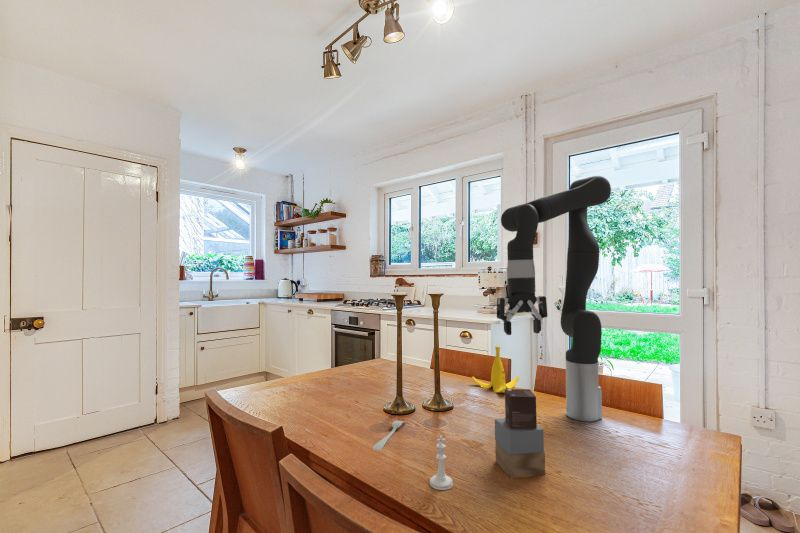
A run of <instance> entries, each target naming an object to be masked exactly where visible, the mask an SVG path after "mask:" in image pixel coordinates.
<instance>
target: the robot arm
mask: <svg viewBox="0 0 800 533" xmlns="http://www.w3.org/2000/svg"><path fill="white" fill-rule="evenodd" d="M611 193H612V187H611V183H610V181H609V180H608V179H607V177H605V176H602V175H593V176H589V177H584V178H579V179H576V180H574V181H573V182H571V184H570V186H569V188H568V189H567V190H562V191H558V192H555V193H550V194H547V195H545V196H542V197H539V198H536V199H534V200H532V201H530V202H525V203H522V204H518V205H515V206H511V207H508V208H507V209H505V210H504V211H503V213H502V214H501V217H500V223H501V226H502V227H503V228H504V229H505V230H506V231H509V232H512V233H513V232H516V235H515V237H514V238H513V239H511V240H509V241H508V243H507V245H506V246H507V247H506V248H507V253H506V254H507V266H506V276H507V277H506V279H507V280H506V281H507V282H506V283H507V297H501V296H500V297H497V299H496V318H497V319H498V320H499V319H500V320H502V322H503V332H504V333H505V335H507V336H511V335H512V321H511V320H512V318H513V317H514V316H515V315H516V314H517V313H529V314H530V315H531V316H532V318H533V320H532V322H533V323H532V326H533V327H532V328H533V333H534V334H540V333H541V331H542V320H543V319H544V318H548V306H547V305H548V303H547V296H546V295H545V296H543V295H538V296H536V269H535V267H536V266H535V261H534V244H535V240H536V236H537V231H538V227H539V223H544V222H547V221H550V220H552V219H555V218H557V217H560V216H562V215H565V214H567V213H568V222H569V223H568V241H567V242H568V244H567V252H566V253H567V254H566V255H567V257H566V274H565V275H566V276H565V286H564V287H565V288H564V296H563V297H564V298H563V303H562V309H561V315H560V327H561V330H562V332H563V334H565V335H566V336H568V337H571V338H572V346H571V347H570V349H567V350H566V352H565V395H566V396H565V400H566V401H565V402H566V403H565V404H566V408H565V409H566V416H568V417H569V418H570V419H573V420H576V421H580V422H597V421H599V420H600V419H601V420H602V419H603V401H602V399H603V397H602V396H603V394H602V391H603V390H602V387H601V386H600V385H599V356H600V354H601V352H602V351H601V350H602V330H603V329H602V322H601V318H600V317H599V315H598V314H597V313H596V312H594V311H592V310H588V309H587V297H588V296H587V295H588V292H589V290H590V288H591V285H592V284H593V282H594V279H595V277H596V275H597V273H598V270H599V265H600V264H599V263H600V246H599V243H598V240H597V239H596V237H595V235H594V233H593V231H592V230H591V228H590V226H589V223H588V209H589V208H590V207H595V206H600V205H603V204H605V203H606V202H607V201H608V200H609V198H610V196H611ZM588 207H589V208H588ZM536 303H537V305H538V307H536V306H535V304H536ZM507 304H508V308H507V309H506V310H505V308H506V307H505V306H506V305H507ZM537 308H538V309H537Z"/></svg>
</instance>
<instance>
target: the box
mask: <svg viewBox="0 0 800 533" xmlns="http://www.w3.org/2000/svg"><path fill="white" fill-rule="evenodd" d="M504 412H505V417H504V418H505V419H506V421H507V423H508V425H509V427H510V428H512V429H537V425H538V424H537V420H538V419H537V396H536V395H535V393H534V392H532V390H531V389H530V388H511V389H508V388H506V389H505V393H504Z"/></svg>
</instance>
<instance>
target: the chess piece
mask: <svg viewBox="0 0 800 533" xmlns="http://www.w3.org/2000/svg"><path fill="white" fill-rule="evenodd" d="M436 442H437V444H436V445H435V446H436V451H437V454H436V455H435V458H436V460H438V466H437V473H436V474H435V475H433V476H431V477H430V479H429V485H430V487H431V488H433V489H435V490H439V491H446V490H450V489H451V488H452V487H453V486H454V483H453V479H452V478H451V476H448V475H447V474H446V472H445V471H446V470H445V464H444V463H445V462H444V461H445V460H446V459H447V456H446V455H445V454H444V453H445V451H446V447H447V446H446V443H445V444H444V443H443V442H446V439H445V438H443V435H440V436H439V438H437V439H436Z"/></svg>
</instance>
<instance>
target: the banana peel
mask: <svg viewBox="0 0 800 533" xmlns="http://www.w3.org/2000/svg"><path fill="white" fill-rule="evenodd" d="M494 348H495V358H494V361H493V364H492V367H491V373H490V374H491V375H490V383H487V382H486V383H485V382H483V381H481V380H478V378H477V379H476V378H475V376H471V379H472V381H474V383H476V384H477V385H478V386H479V387H481V388H483V389H487V390H489V389H491V388H492V390H493V392H494V393H495V394H497V393H499V394H500V393H504V394H505V389H514V387H515V386H516V385H517V383H518V381H519V379H520V377H519V376H516V377H515V378H514V379H513V380H511V381H509V382H506V376H505V375H506V374H505V369H504V365H503V362H502V360H501V355H500V350H501V346H499V345H496V346H494Z"/></svg>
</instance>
